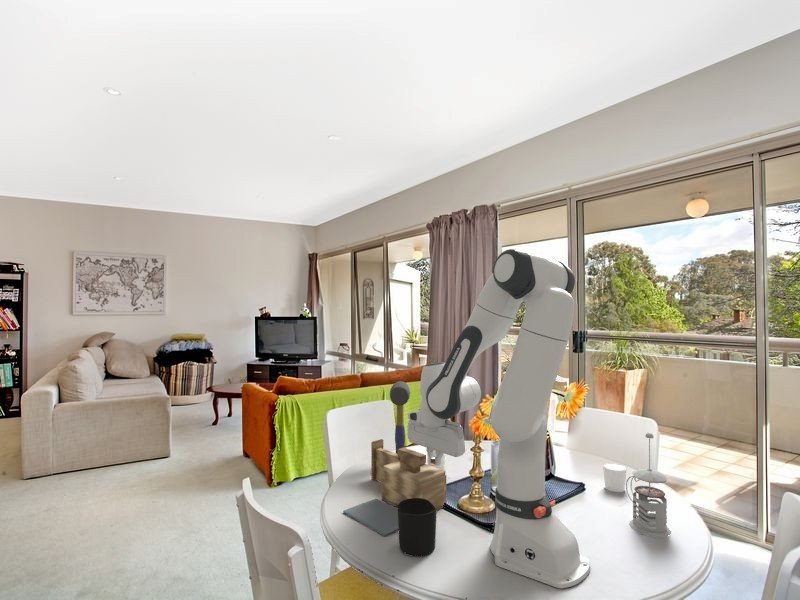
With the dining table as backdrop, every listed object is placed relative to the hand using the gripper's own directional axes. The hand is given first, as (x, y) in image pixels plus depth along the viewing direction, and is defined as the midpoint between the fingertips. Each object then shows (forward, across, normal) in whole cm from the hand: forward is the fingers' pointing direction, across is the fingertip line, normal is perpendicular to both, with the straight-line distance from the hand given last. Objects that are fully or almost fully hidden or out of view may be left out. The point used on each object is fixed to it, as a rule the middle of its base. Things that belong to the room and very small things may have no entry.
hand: (435, 464), depth 134 cm
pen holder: (+12, -13, +20) cm, 27 cm away
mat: (+12, +5, +17) cm, 21 cm away
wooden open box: (+12, +5, +4) cm, 13 cm away
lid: (+3, +5, +4) cm, 7 cm away
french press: (+12, -47, -32) cm, 58 cm away
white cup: (+12, -31, -51) cm, 61 cm away
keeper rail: (+12, +21, 0) cm, 24 cm away
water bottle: (+12, +19, -20) cm, 30 cm away
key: (+1, +10, 0) cm, 10 cm away
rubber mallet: (+12, +31, -14) cm, 36 cm away
